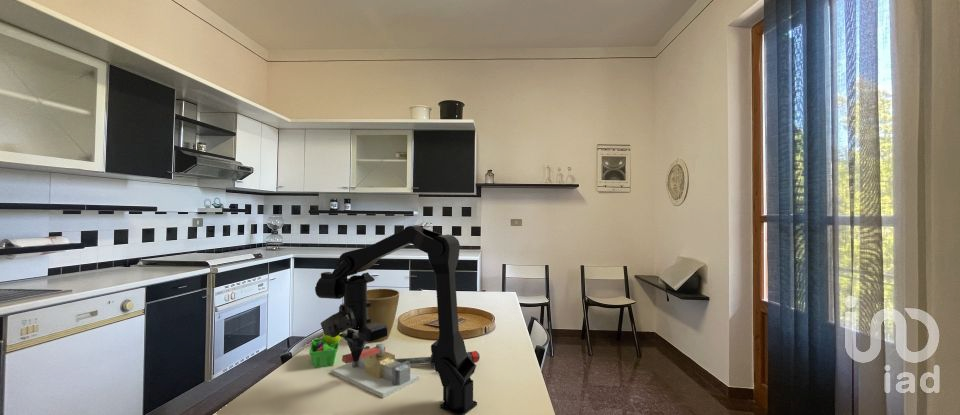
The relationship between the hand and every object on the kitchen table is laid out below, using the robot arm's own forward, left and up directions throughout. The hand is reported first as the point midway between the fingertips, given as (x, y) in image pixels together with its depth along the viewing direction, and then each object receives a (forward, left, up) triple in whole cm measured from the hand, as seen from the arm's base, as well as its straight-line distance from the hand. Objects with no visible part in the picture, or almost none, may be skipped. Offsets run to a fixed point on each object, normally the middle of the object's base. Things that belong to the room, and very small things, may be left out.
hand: (356, 361), depth 93 cm
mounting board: (+2, -7, -7) cm, 10 cm away
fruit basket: (+22, -5, -7) cm, 23 cm away
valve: (-6, -24, -8) cm, 26 cm away
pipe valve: (+1, -8, -7) cm, 11 cm away
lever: (+1, -4, -1) cm, 4 cm away
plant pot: (+25, -26, -7) cm, 37 cm away
